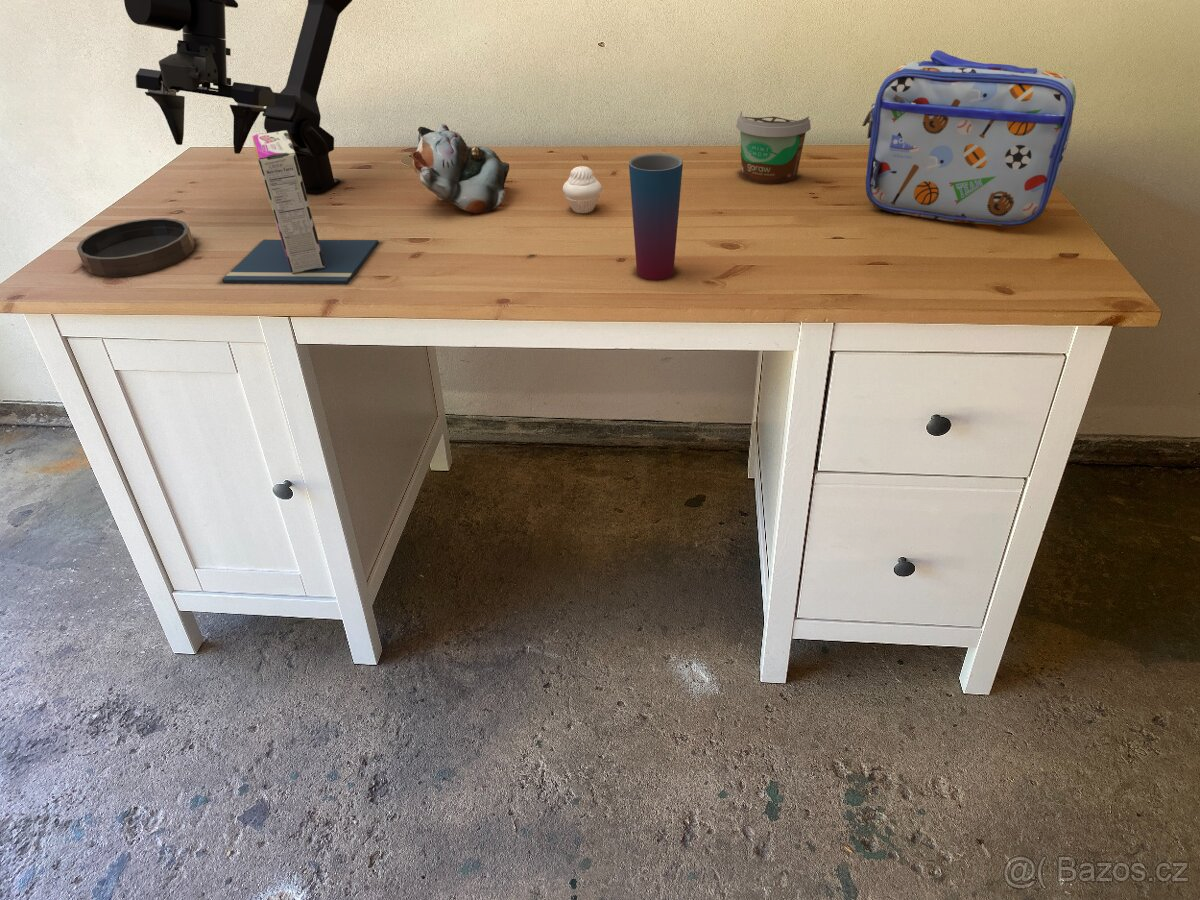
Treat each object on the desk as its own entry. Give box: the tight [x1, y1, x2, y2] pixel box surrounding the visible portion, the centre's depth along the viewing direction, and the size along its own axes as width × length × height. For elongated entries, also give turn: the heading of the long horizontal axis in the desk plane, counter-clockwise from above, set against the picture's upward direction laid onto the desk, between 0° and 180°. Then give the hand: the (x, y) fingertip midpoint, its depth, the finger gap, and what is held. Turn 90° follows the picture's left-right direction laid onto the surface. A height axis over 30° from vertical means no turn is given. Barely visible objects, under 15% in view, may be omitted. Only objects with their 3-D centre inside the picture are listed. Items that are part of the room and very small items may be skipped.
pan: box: [76, 217, 195, 278], centre depth 124 cm, size 15×15×3 cm
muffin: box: [562, 165, 603, 214], centre depth 131 cm, size 6×6×7 cm
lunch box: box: [861, 49, 1077, 227], centre depth 120 cm, size 28×10×22 cm, turn 62°
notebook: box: [221, 239, 379, 285], centre depth 120 cm, size 18×14×1 cm
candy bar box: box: [252, 130, 325, 274], centre depth 116 cm, size 11×5×16 cm, turn 22°
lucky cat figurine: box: [410, 123, 510, 215], centre depth 134 cm, size 15×12×14 cm
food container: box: [735, 110, 812, 185], centre depth 138 cm, size 12×6×10 cm, turn 68°
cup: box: [628, 152, 684, 281], centre depth 109 cm, size 7×7×15 cm
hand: (208, 149), depth 127 cm, fingers open, 9 cm apart
